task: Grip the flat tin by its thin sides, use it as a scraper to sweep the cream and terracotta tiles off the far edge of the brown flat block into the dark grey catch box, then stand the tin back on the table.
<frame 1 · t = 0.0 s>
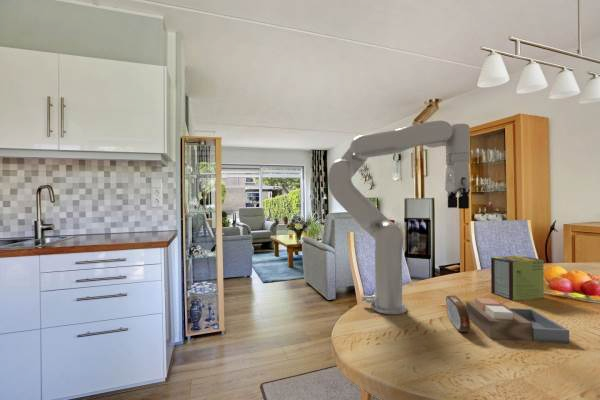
hand: (457, 208, 103), 37 cm above the table, tool pointing down, fingers open, 9 cm apart
tin: (456, 326, 92), on the table
brown flat block: (496, 327, 91), on the table
protein box: (516, 295, 121), on the table
cream tile: (498, 315, 87), point 5 cm above the table, touching brown flat block
catch box: (532, 329, 89), on the table
terracotta tile: (486, 307, 94), point 5 cm above the table, touching brown flat block
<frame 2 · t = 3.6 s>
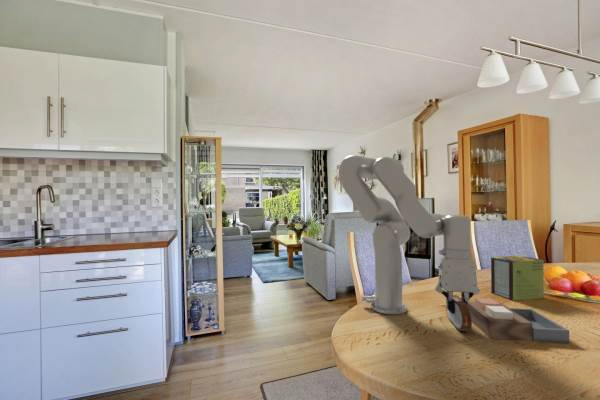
hand: (457, 311, 92), 4 cm above the table, tool pointing down, fingers closed on tin, 2 cm apart
tin: (456, 325, 92), on the table, touching gripper
everything else where it was.
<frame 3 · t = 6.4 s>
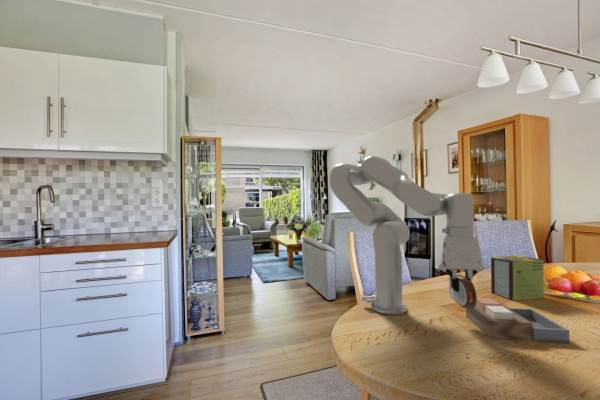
hand: (461, 290, 92), 11 cm above the table, tool pointing down, fingers closed on tin, 2 cm apart
tin: (460, 304, 92), point 7 cm above the table, touching gripper
everything else where it was.
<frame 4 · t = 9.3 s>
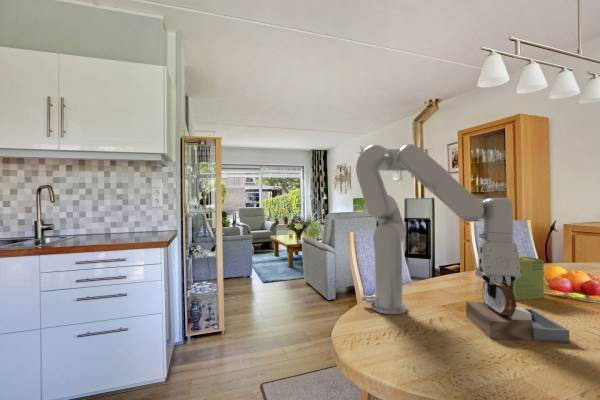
hand: (497, 296, 91), 10 cm above the table, tool pointing down, fingers closed on tin, 2 cm apart
tin: (495, 310, 91), point 5 cm above the table, touching gripper
cream tile: (516, 316, 87), point 5 cm above the table
terracotta tile: (503, 307, 94), point 5 cm above the table, touching brown flat block
everything else where it was.
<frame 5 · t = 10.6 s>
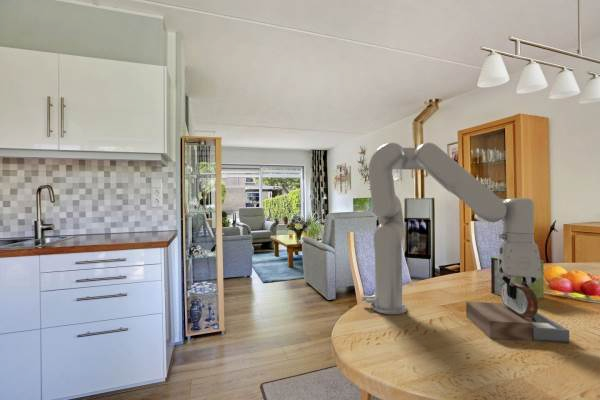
hand: (518, 297, 90), 10 cm above the table, tool pointing down, fingers closed on tin, 2 cm apart
tin: (515, 311, 90), point 5 cm above the table, touching gripper
cream tile: (544, 326, 86), point 3 cm above the table, tilted 180°, touching catch box
terracotta tile: (519, 314, 93), point 3 cm above the table, tilted 90°, touching catch box
everything else where it was.
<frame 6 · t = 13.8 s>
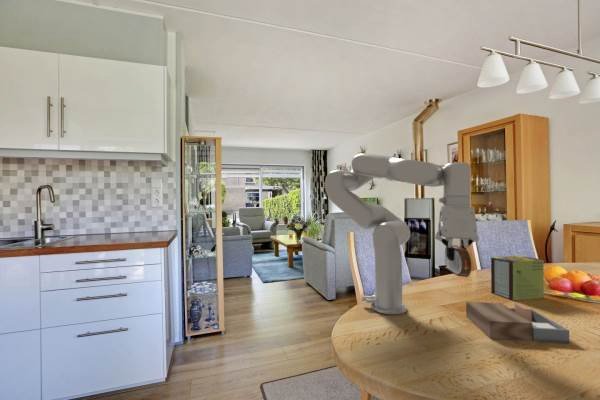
hand: (456, 259, 92), 21 cm above the table, tool pointing down, fingers closed on tin, 2 cm apart
tin: (455, 273, 92), point 16 cm above the table, touching gripper
everything else where it was.
when the fingers open (5 cm above the table, at t = 16.9 s): tin stays where it is, on the table.
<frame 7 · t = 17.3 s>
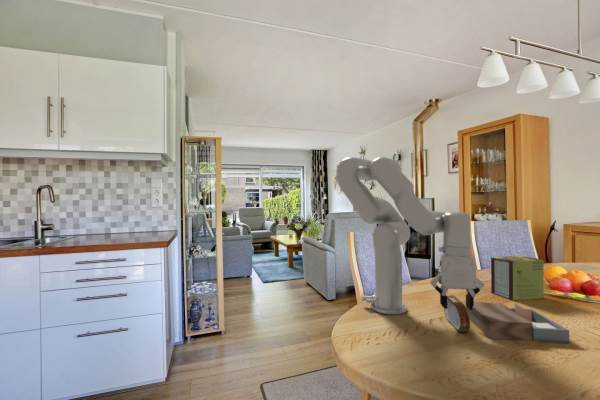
hand: (456, 307, 92), 6 cm above the table, tool pointing down, fingers open, 6 cm apart
tin: (455, 326, 92), on the table
everything else where it was.
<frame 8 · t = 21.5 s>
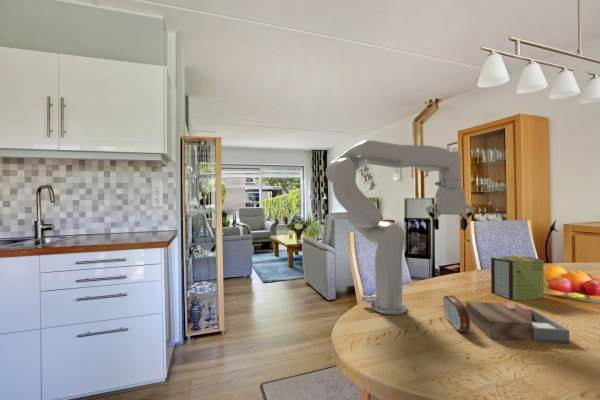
hand: (449, 229, 111), 28 cm above the table, tool pointing down, fingers open, 9 cm apart
nothing on the table moved.
at the end: cream tile inside the target area (3.8 cm from its centre), point 2.6 cm above the table; terracotta tile inside the target area (4.3 cm from its centre), point 3.1 cm above the table; tin tilted 0° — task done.
